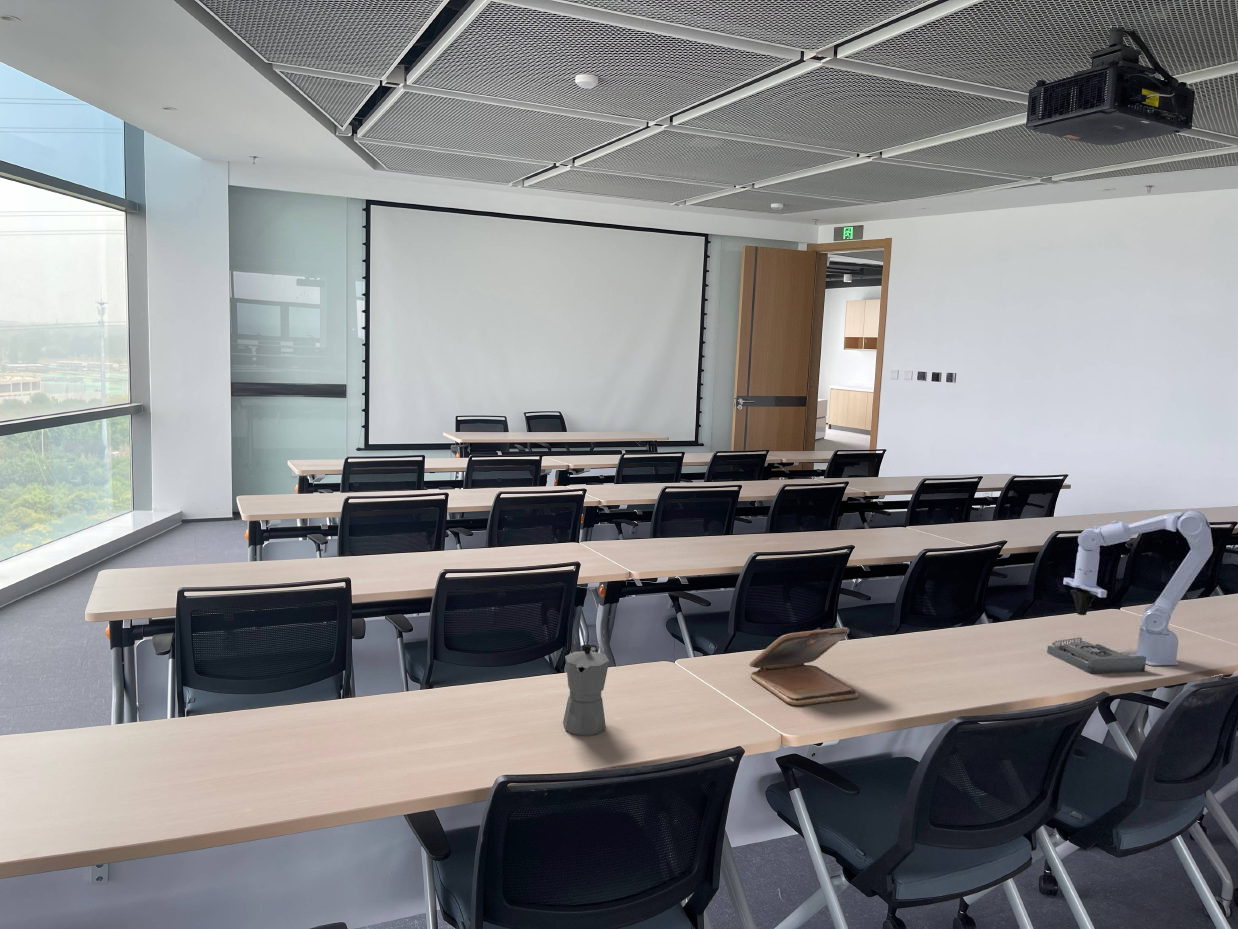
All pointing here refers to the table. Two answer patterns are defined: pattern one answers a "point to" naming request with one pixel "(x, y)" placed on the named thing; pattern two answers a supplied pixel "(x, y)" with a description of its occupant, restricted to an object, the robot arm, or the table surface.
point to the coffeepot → (585, 691)
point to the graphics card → (1083, 649)
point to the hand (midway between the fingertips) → (1081, 614)
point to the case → (801, 668)
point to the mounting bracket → (1103, 662)
